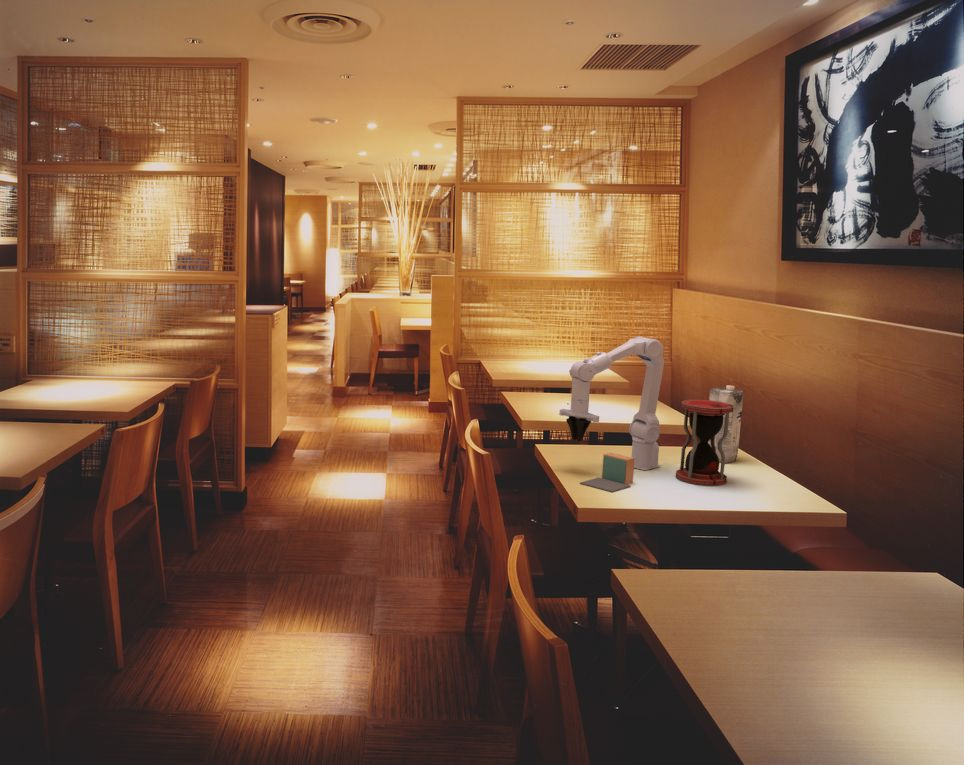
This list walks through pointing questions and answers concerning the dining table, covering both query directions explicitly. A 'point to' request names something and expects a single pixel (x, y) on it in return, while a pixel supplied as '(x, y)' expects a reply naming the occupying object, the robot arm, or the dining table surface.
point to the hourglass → (704, 442)
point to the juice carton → (734, 423)
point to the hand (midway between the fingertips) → (577, 440)
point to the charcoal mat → (605, 484)
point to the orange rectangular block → (618, 468)
